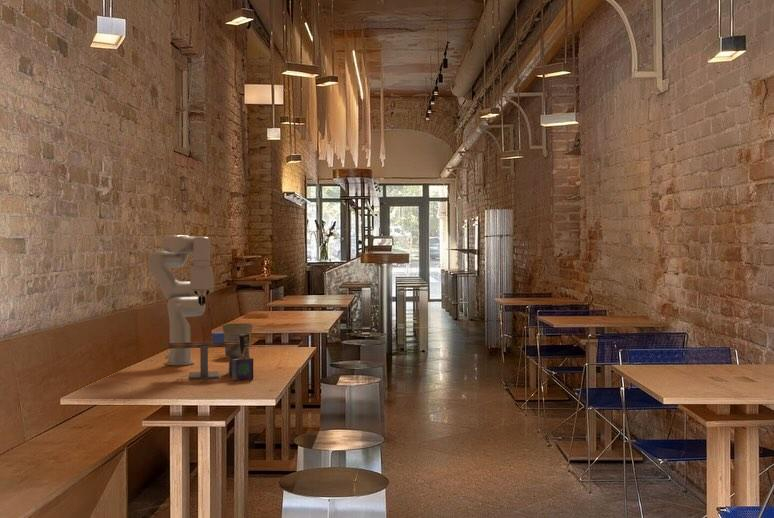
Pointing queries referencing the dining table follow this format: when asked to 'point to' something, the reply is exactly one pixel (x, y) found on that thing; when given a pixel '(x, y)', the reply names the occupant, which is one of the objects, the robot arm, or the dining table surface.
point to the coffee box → (241, 343)
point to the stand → (204, 366)
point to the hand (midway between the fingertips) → (201, 305)
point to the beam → (210, 346)
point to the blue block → (218, 338)
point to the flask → (242, 369)
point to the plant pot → (236, 330)
